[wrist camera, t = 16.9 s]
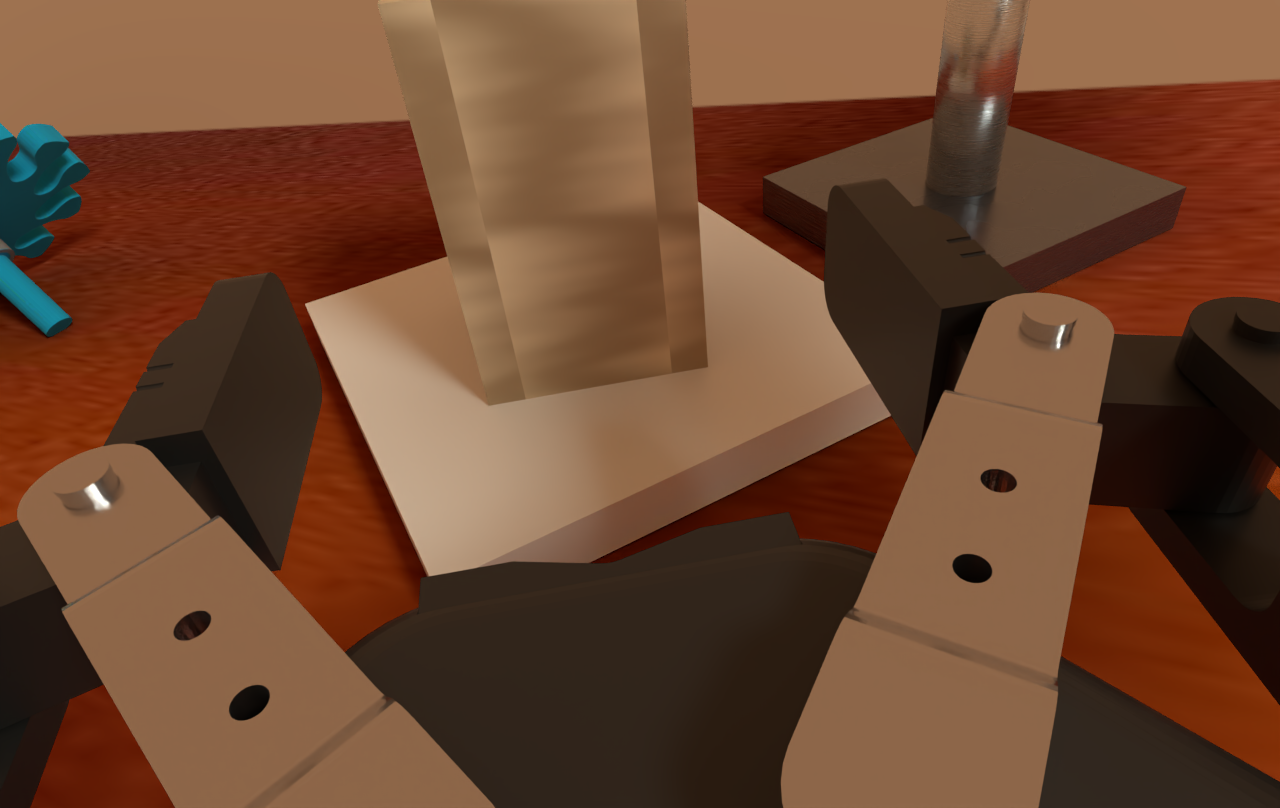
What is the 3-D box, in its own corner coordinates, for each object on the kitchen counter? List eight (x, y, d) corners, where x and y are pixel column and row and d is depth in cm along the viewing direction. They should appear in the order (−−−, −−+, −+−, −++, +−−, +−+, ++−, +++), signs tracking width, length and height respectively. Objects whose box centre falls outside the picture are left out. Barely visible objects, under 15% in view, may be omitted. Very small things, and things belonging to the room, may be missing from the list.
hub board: (671, 218, 33) (654, 16, 28) (928, 397, 23) (968, 132, 18) (320, 341, 28) (230, 125, 24) (451, 629, 19) (342, 357, 14)
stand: (954, 143, 36) (991, -114, 30) (1172, 227, 29) (1277, -88, 23) (763, 212, 32) (760, -60, 27) (955, 327, 25) (1011, -10, 19)
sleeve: (668, 261, 27) (636, -87, 21) (708, 367, 23) (683, -41, 16) (486, 292, 27) (399, -53, 21) (488, 405, 22) (377, 4, 16)
